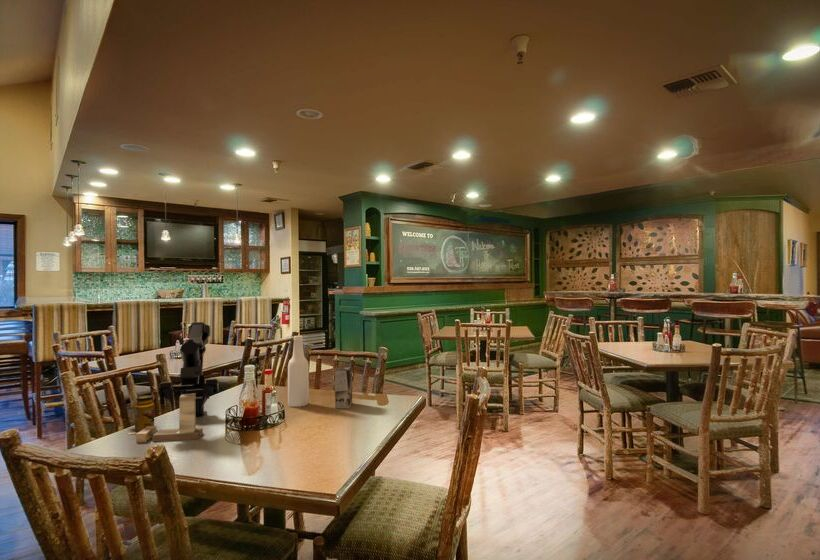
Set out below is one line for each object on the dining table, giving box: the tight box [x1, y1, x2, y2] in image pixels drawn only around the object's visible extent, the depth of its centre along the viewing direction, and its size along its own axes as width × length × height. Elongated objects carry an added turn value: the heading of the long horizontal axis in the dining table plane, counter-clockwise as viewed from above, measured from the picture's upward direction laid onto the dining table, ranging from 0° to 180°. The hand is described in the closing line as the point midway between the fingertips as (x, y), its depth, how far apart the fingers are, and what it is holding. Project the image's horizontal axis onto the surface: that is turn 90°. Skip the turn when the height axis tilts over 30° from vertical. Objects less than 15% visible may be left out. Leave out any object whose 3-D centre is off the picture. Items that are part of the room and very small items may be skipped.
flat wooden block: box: [152, 426, 204, 442], centre depth 151 cm, size 6×14×2 cm, turn 98°
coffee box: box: [334, 366, 353, 409], centre depth 191 cm, size 9×6×16 cm
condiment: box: [127, 394, 156, 435], centre depth 159 cm, size 7×8×12 cm
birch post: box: [178, 393, 197, 433], centre depth 152 cm, size 4×4×12 cm
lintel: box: [135, 425, 157, 443], centre depth 151 cm, size 8×3×3 cm, turn 8°
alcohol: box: [287, 335, 310, 408], centre depth 193 cm, size 9×9×30 cm
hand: (187, 409), depth 151 cm, fingers open, 8 cm apart
